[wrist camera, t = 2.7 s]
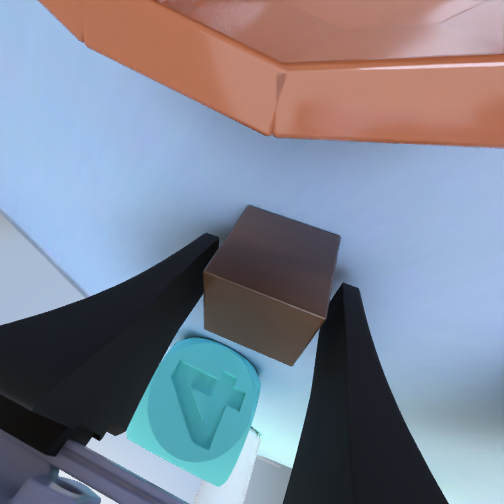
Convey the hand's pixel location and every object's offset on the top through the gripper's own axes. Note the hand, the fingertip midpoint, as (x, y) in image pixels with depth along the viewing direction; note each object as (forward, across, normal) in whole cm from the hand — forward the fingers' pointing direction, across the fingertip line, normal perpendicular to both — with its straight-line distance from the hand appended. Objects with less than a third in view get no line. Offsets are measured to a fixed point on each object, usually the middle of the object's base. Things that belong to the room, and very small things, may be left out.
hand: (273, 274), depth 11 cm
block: (+1, 0, 0) cm, 1 cm away
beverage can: (+2, -3, +40) cm, 40 cm away
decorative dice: (+2, +2, +16) cm, 17 cm away
